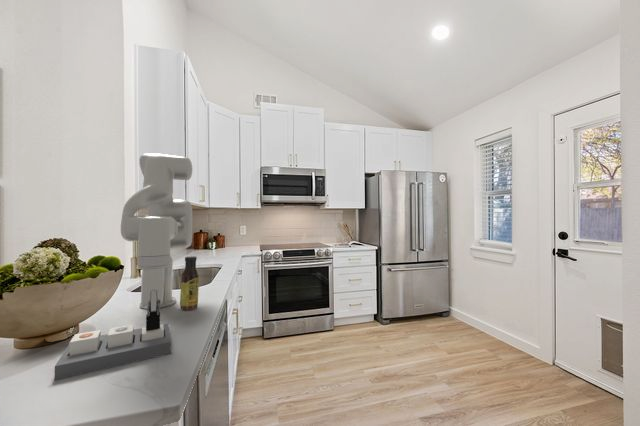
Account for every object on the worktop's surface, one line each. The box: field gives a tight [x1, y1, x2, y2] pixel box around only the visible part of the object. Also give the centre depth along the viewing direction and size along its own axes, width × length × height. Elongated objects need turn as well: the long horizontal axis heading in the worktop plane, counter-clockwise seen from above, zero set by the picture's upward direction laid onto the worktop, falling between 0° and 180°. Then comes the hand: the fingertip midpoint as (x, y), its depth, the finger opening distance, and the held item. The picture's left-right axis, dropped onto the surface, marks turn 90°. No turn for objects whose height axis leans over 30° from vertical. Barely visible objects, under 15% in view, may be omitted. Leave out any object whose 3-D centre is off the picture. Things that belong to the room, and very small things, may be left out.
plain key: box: [107, 324, 135, 348], centre depth 70 cm, size 5×5×4 cm
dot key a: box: [141, 323, 164, 341], centre depth 73 cm, size 5×5×4 cm
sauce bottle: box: [179, 256, 200, 312], centre depth 104 cm, size 6×6×20 cm
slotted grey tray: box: [53, 323, 172, 381], centre depth 70 cm, size 14×22×3 cm, turn 122°
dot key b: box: [69, 329, 102, 356], centre depth 66 cm, size 5×5×4 cm
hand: (153, 328), depth 73 cm, fingers closed
